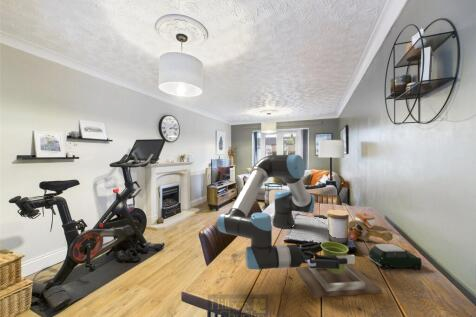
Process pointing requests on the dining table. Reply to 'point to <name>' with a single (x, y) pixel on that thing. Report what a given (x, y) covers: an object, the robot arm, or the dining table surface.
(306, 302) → the dining table surface
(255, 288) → the dining table surface
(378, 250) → the miniature car
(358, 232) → the toy helicopter
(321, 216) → the smart home device
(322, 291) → the jig plate
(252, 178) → the robot arm
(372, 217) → the lidded jar
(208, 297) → the dining table surface
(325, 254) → the plant pot
